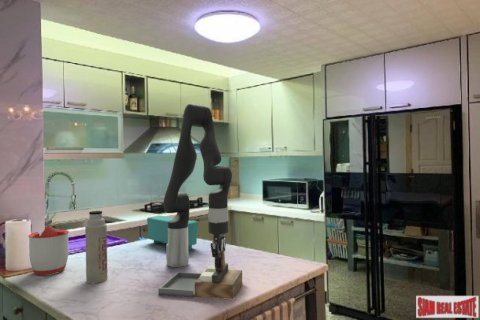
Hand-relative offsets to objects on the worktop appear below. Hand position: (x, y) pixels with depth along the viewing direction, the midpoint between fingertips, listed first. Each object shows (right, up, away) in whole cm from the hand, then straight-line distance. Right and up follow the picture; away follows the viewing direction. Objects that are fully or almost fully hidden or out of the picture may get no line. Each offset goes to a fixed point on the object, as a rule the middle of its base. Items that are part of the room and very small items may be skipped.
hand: (219, 265), depth 129 cm
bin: (-13, -9, +3) cm, 16 cm away
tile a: (-4, -4, -3) cm, 6 cm away
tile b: (-2, -4, +4) cm, 6 cm away
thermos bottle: (-50, -10, +12) cm, 53 cm away
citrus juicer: (-77, -10, +24) cm, 81 cm away
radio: (-30, -9, +65) cm, 72 cm away
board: (0, -9, 0) cm, 9 cm away
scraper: (+1, -4, 0) cm, 4 cm away
